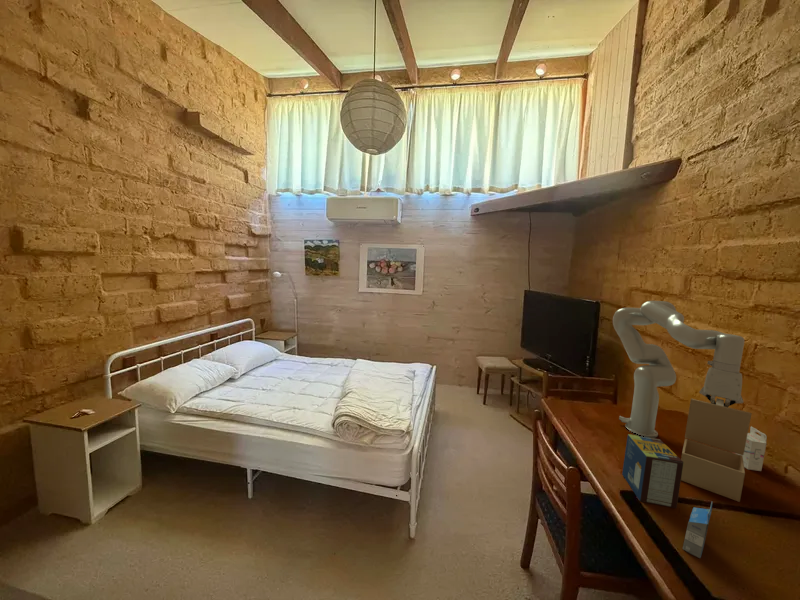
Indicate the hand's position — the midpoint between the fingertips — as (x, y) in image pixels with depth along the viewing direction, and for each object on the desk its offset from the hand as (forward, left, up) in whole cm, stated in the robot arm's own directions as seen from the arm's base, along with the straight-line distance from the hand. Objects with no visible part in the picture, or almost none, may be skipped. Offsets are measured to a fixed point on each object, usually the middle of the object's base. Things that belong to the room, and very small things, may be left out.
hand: (717, 413), depth 131 cm
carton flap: (0, -5, -3) cm, 6 cm away
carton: (0, -12, -22) cm, 25 cm away
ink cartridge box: (+11, +16, -22) cm, 29 cm away
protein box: (-15, -37, -22) cm, 46 cm away
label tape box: (-2, -57, -22) cm, 61 cm away
